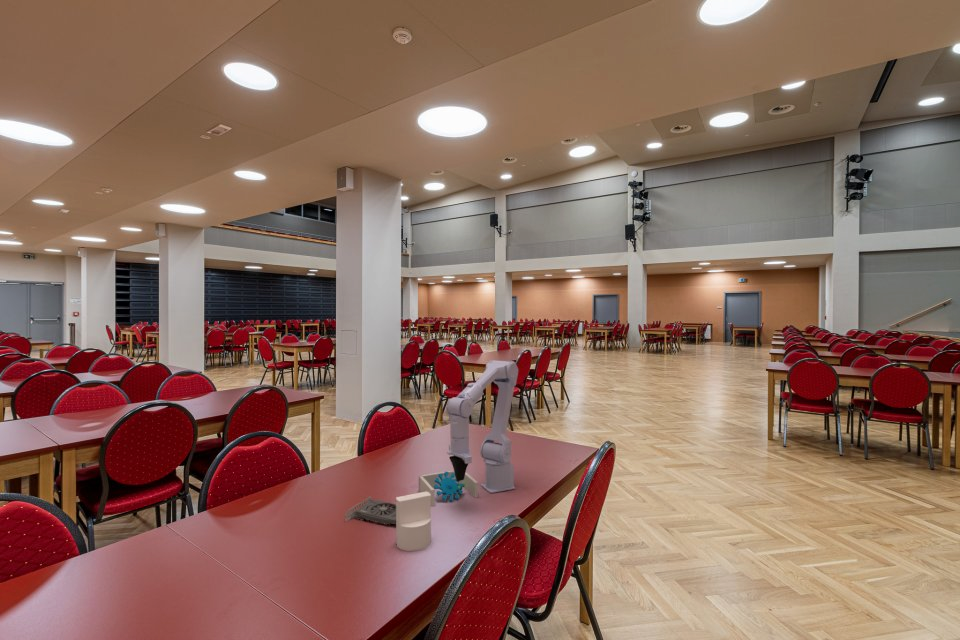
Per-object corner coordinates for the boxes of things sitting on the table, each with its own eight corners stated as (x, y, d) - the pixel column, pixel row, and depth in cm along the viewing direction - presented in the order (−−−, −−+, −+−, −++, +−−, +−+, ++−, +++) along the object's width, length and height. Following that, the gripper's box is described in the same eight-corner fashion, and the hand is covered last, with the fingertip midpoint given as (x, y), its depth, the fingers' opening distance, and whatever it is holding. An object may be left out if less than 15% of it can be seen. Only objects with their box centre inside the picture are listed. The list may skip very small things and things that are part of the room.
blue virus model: (437, 500, 137) (433, 470, 144) (431, 508, 140) (427, 479, 147) (469, 499, 141) (463, 470, 148) (463, 507, 145) (457, 478, 152)
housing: (462, 483, 155) (462, 469, 156) (478, 497, 143) (478, 482, 143) (418, 490, 149) (418, 475, 149) (431, 506, 136) (431, 490, 136)
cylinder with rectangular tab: (402, 554, 108) (402, 506, 108) (392, 538, 116) (391, 493, 116) (436, 545, 112) (435, 499, 112) (423, 530, 120) (423, 487, 120)
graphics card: (342, 511, 126) (368, 494, 137) (342, 523, 126) (368, 506, 137) (390, 522, 119) (414, 504, 130) (390, 536, 119) (414, 516, 130)
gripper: (439, 432, 141) (440, 474, 141) (456, 443, 128) (456, 490, 128) (460, 429, 144) (460, 470, 144) (478, 440, 130) (478, 486, 131)
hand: (459, 479), depth 136 cm, fingers closed
